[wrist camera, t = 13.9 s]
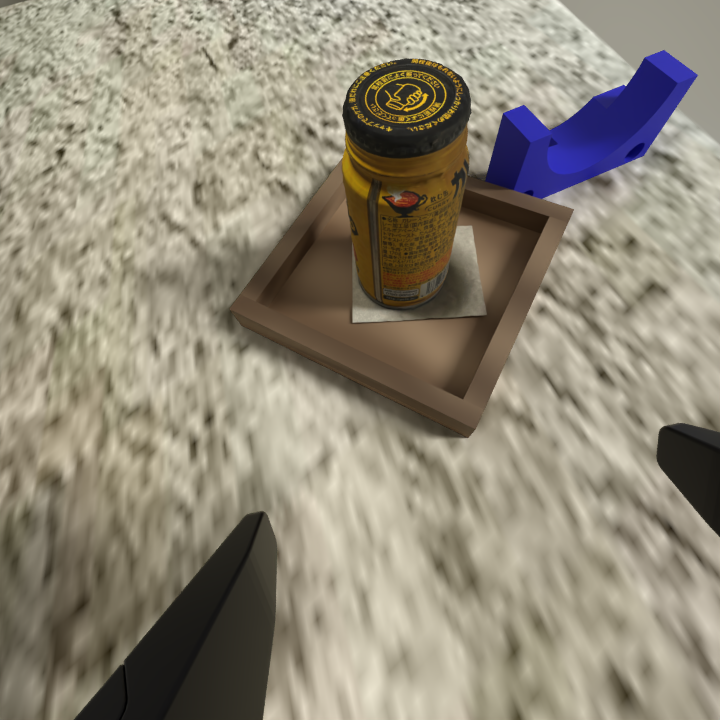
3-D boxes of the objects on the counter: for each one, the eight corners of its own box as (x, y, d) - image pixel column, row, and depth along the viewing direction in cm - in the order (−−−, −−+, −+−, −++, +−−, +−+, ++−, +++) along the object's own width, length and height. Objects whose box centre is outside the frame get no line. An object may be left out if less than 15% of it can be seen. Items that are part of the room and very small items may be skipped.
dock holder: (468, 438, 23) (475, 429, 20) (241, 325, 27) (229, 308, 25) (560, 232, 28) (574, 209, 26) (358, 164, 32) (355, 140, 30)
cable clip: (603, 123, 32) (648, 38, 26) (641, 158, 30) (697, 75, 24) (472, 176, 31) (490, 99, 25) (504, 215, 29) (530, 142, 23)
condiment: (352, 235, 28) (325, 49, 17) (471, 227, 28) (522, 29, 17) (352, 324, 25) (321, 170, 14) (485, 317, 25) (559, 150, 14)
